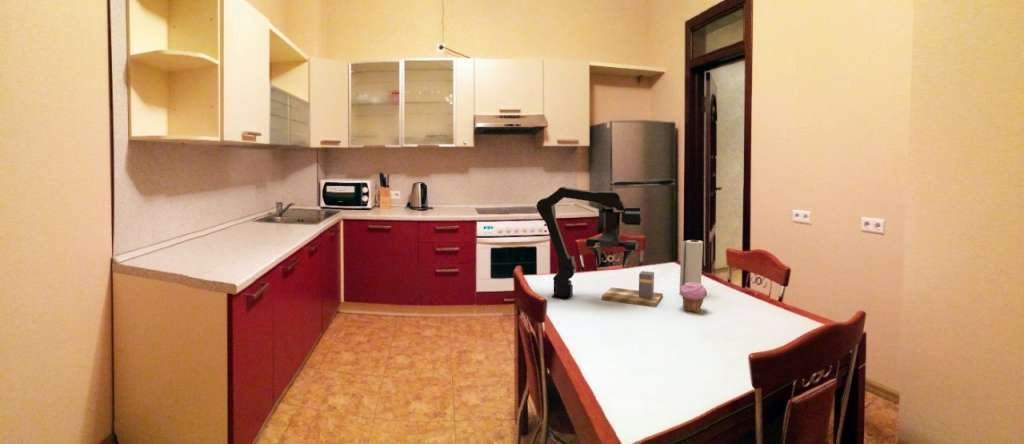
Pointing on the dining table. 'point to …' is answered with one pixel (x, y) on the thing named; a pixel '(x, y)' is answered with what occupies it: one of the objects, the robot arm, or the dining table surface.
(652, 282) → the gift box with lid
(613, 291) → the cardboard box
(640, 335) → the dining table surface
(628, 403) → the dining table surface
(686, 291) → the cupcake
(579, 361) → the dining table surface
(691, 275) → the paper towel roll
